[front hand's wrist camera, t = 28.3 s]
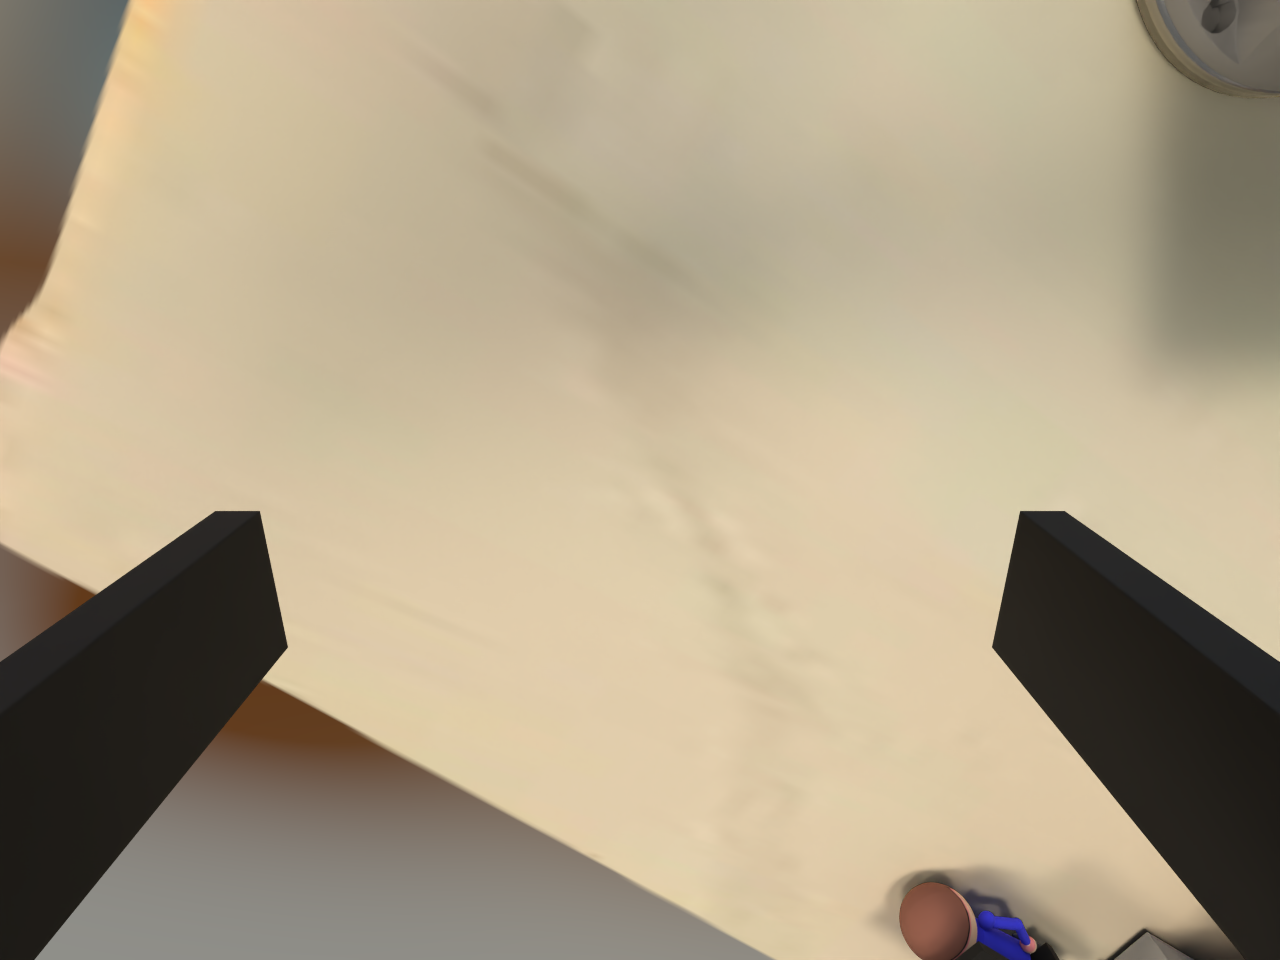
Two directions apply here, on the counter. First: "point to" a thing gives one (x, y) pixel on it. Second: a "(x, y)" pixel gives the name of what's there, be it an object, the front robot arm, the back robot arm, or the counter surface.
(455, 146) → the counter surface
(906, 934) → the figurine character
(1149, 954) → the record crate
